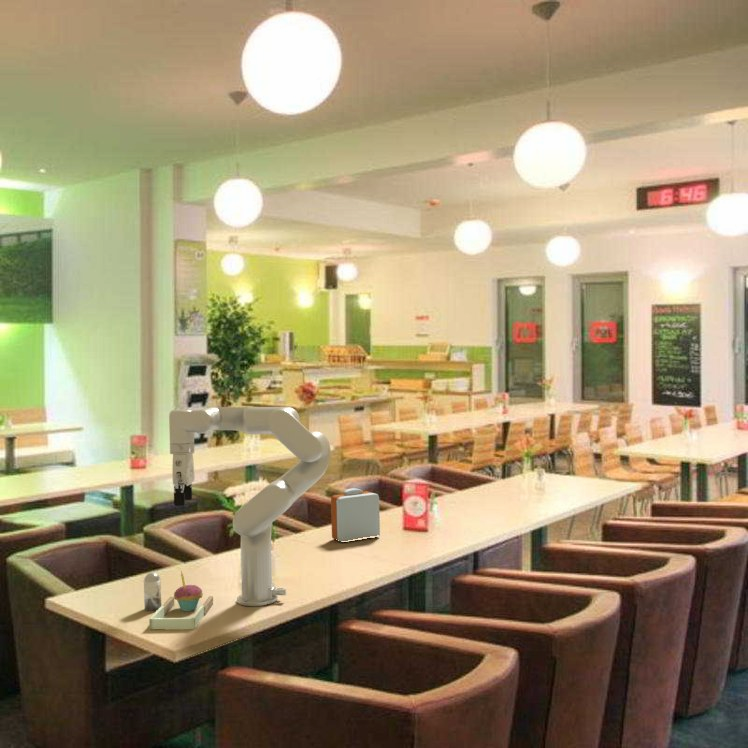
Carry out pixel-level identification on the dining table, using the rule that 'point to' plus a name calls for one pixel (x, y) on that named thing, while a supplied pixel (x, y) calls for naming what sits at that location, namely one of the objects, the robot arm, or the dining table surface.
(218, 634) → the dining table surface
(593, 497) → the dining table surface
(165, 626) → the tray
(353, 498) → the grey suitcase
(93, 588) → the dining table surface
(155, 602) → the glass dome
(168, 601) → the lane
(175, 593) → the cupcake
